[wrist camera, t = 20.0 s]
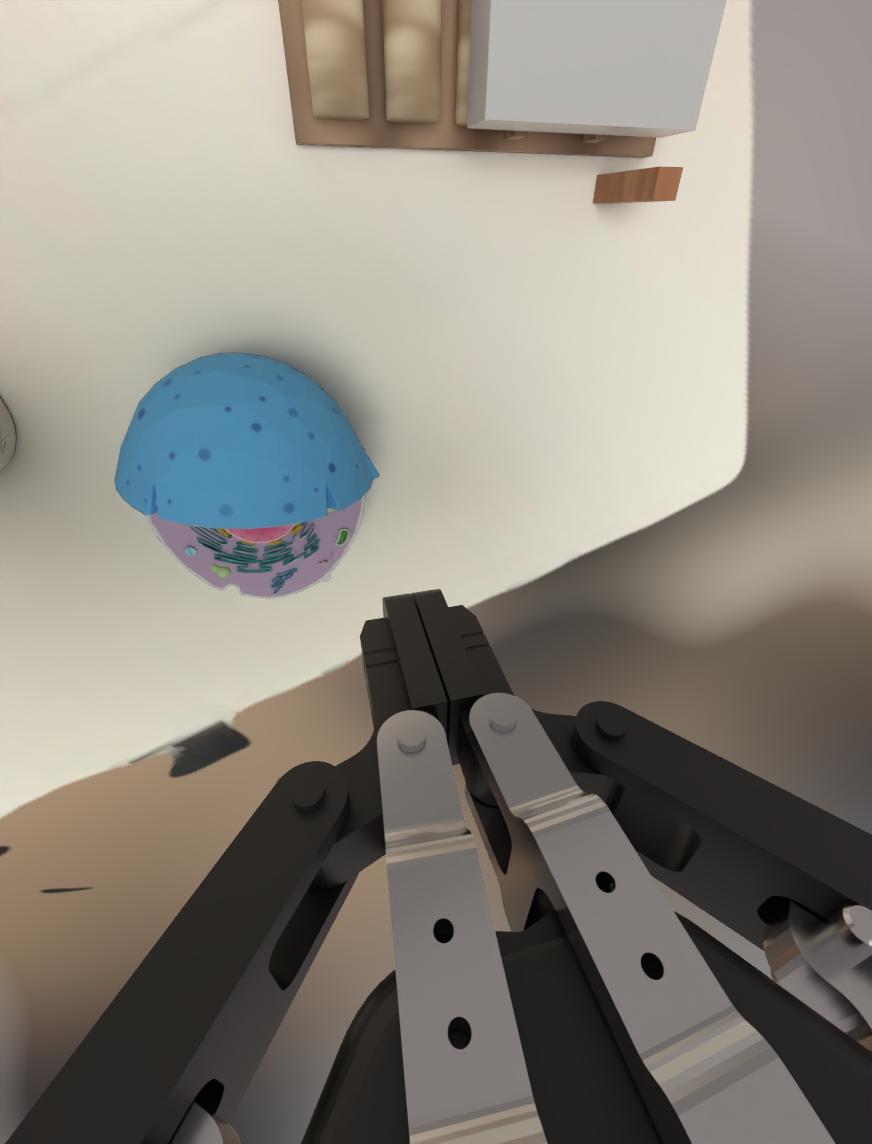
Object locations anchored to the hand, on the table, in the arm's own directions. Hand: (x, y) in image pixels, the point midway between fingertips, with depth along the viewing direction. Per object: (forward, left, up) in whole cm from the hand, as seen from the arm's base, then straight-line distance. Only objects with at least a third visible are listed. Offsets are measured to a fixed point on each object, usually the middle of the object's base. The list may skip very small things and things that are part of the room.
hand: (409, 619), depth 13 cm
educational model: (-6, -7, -29) cm, 31 cm away
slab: (+15, +16, -24) cm, 33 cm away
